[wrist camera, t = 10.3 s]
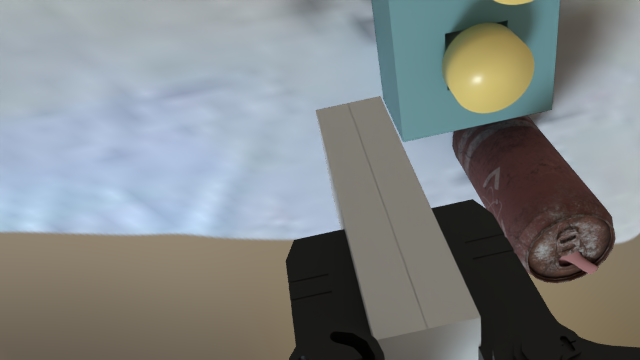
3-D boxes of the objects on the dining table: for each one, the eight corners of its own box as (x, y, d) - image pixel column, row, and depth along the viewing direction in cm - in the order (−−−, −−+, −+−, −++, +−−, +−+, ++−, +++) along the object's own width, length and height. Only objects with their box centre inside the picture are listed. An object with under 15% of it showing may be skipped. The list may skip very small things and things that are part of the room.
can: (492, 175, 49) (572, 300, 38) (434, 145, 47) (501, 269, 35) (543, 119, 47) (645, 235, 35) (485, 84, 44) (574, 197, 33)
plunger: (420, 67, 41) (453, 120, 35) (414, 0, 38) (450, 46, 32) (487, 52, 41) (532, 103, 35) (487, -16, 38) (536, 27, 32)
